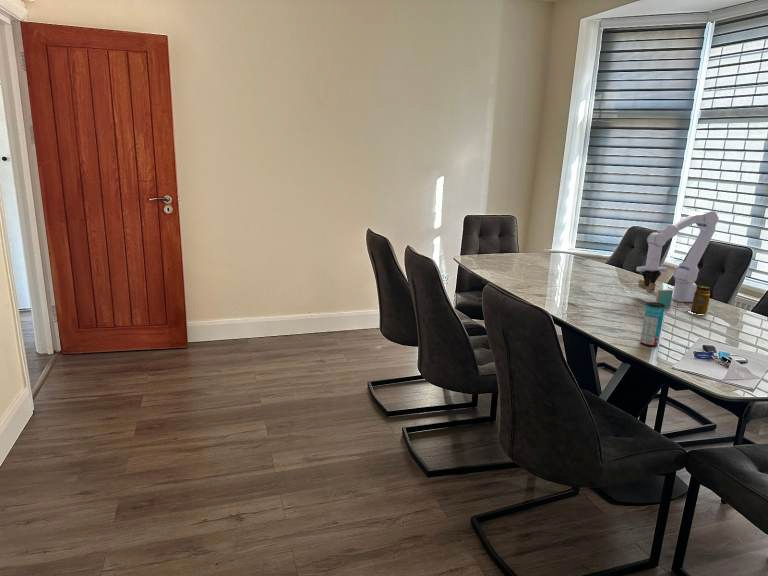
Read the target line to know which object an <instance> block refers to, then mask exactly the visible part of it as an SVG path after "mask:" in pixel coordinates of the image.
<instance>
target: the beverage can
mask: <svg viewBox="0 0 768 576" xmlns="http://www.w3.org/2000/svg"><path fill="white" fill-rule="evenodd" d="M645 305H646V306H645V310H644V317H643V321H642V322H643V323H642V328H641V335H640V340H639V342H640V344H641V345H643V346H645V347H652V348H653V347H658V346H659V343H660V336H661V331H662V327H663V326H662V325H663V320H664V315H665V308H666V307H665V305H664V304H661V303H655V301H650V302H646V304H645Z"/></svg>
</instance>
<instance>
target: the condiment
mask: <svg viewBox="0 0 768 576" xmlns="http://www.w3.org/2000/svg"><path fill="white" fill-rule="evenodd" d="M710 292H711V287H709V286H706V285H697V289H696V292H695V293H694V298H693V302H691V303H692V304H691V312H693V313H696V314H706V313H708V309H709V303H710V298H711V294H710ZM688 311H689V310H686V311H684V313H687V312H688ZM696 314H695V315H694V316H697V315H696Z"/></svg>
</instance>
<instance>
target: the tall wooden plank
mask: <svg viewBox="0 0 768 576" xmlns="http://www.w3.org/2000/svg"><path fill="white" fill-rule="evenodd" d="M656 285H657V284H656V282H655V283H652V282H649V286H648V287H647V286H645V283H644V278H639V280H638V286H637V287H638V288H640V289H642V290H645V291H646V293H648V294H650V295H653V296H655V297H656V295H657V290H658V289H657V290H656Z"/></svg>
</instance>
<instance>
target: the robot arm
mask: <svg viewBox="0 0 768 576" xmlns="http://www.w3.org/2000/svg"><path fill="white" fill-rule="evenodd" d="M719 219H720V218H719V216H718V213H717V212H715V211H714V210H707V209H706V210H704V209H696V210H694V211H691V212H690V214H689V215H688V216H686V217H684V218H683V219H682V220H680V221H678V222H676V223H675V224H671V223H670V224H666V225H665V226H664V227H663V228H662V229H658V230H657V232H652V233H650V234H649V235H648V236H647V238H646V242H647V245H648V249H647V255H646V261H645V265H643V266H636V269H635V270H636V272H641V274H642V276H643V279H644V283H645V286H647V287H648V286H649V282H652V283H655V284H656V282H657V280H658V278H660V276H661V275H662V272H664V273H665V272H666V273H667V272H668V267H666V266H660V262H661V256H662V250H663V246H664V245H665V244H666V243H667V241H669V240H670V239H672V238H674V237H676V236H677V235H679V231H681V230H684V229H686V228H688V227H689V226H692V225H693V224H695V225H696V226H697V227H698V229H699V233H698V235H697V236H696V239H695V241H694V242H693V244H692V247H691V248H690V250H689V253H688V254H687V256H686V259H684V261H682V262H681V263H680V264H678V266H677V267H676V268H675V269H674V270H673V273H672V275H673V278H674V281H675V282H674V288H673V294H672V300H673V301H676V302H678V303H693V298H694V293H695V292H696V289H697V286H698V285H697V284H696V283H695V282H696V281H697V279H698V274H699V272H700V269H699V267H698V264H699V263H700V260H701V259H702V257H703V255H704V253H705V252H706V249H707V247H708V246H709V243H710V241H711V240H712V238H713V236H714V234H715V231H716V227H717V223H718V221H719Z"/></svg>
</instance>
